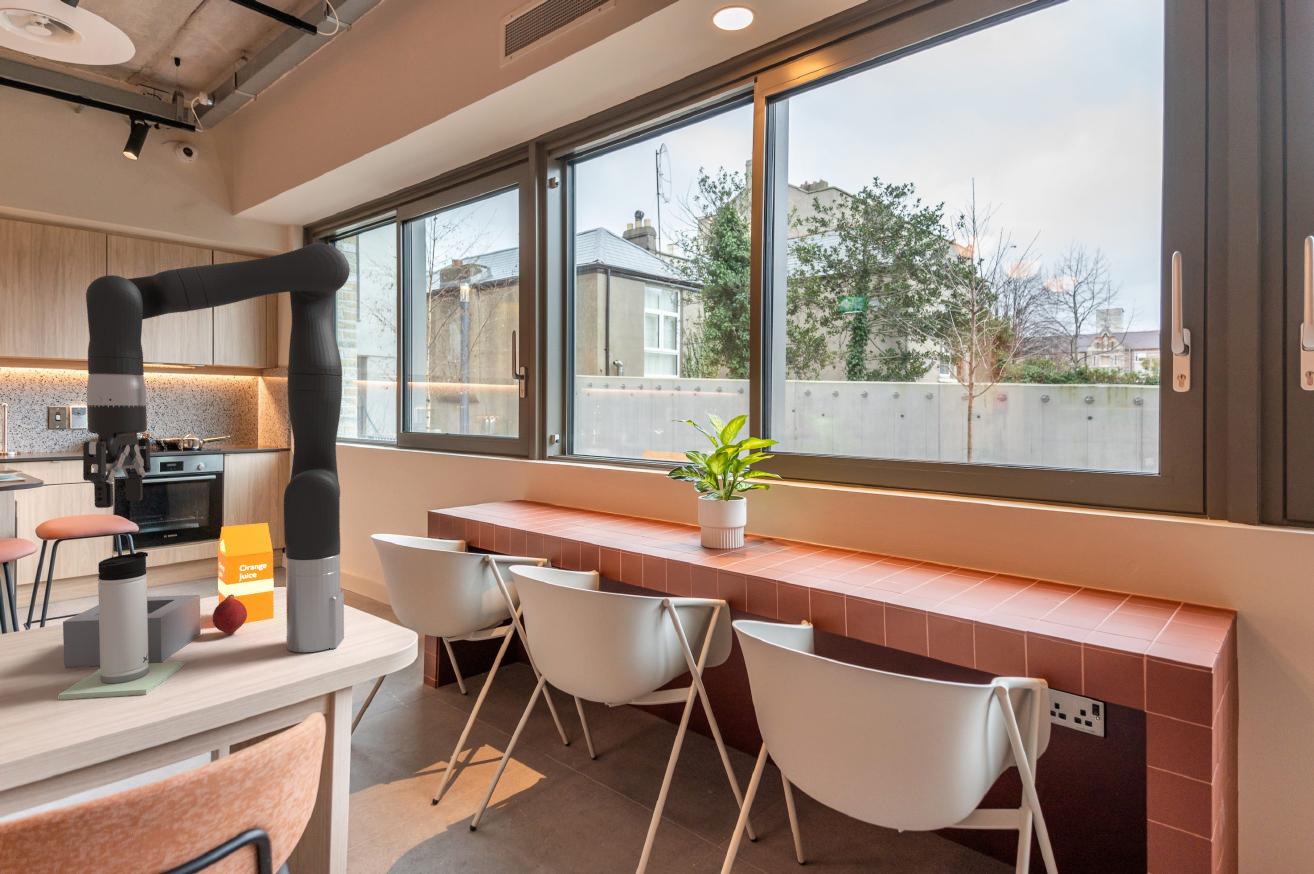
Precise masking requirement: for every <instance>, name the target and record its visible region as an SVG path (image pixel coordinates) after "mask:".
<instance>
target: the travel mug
mask: <svg viewBox="0 0 1314 874" xmlns="http://www.w3.org/2000/svg"><path fill="white" fill-rule="evenodd" d="M148 556H149V553H148V552H145V551H136V552H135V553H127V554H121V555H120V554H119V555H116V556H111V557H109V558H106V559H103V560H101V561H100V562H98V565H97V567H98V568H97V569H98V578H97V582H98V584H97V585H98V587H97V588H98V590H97V591H98V592H97V593H98V605H99V637H100V666H99V669H100V670H101V672H100V680H101V681H102V682H104V683H108V684H116V683H124V682H129V681H133V680H136V679H139V678H141V677H143V676H145V675H146V674H147V673H148V672H149V669H148V664H149V663H148V618H147V597H148V585H147V584H148V578H147V576H148V575H147V562H146V561H147V557H148Z"/></svg>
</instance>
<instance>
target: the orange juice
mask: <svg viewBox="0 0 1314 874" xmlns="http://www.w3.org/2000/svg"><path fill="white" fill-rule="evenodd" d="M217 567H218V569H217V571H218V572H217V574H218V576H217V583H218V584H217V587H218V589H217V590H218V605H219V604H220V603H221V602H222V601H224V600H225V599H226V597H227V596H228V595H229V594H233V595H234V599H236V600H238V601H240V602H241V603H242V604H243V605H244V606H245V608H246V610H247V619H246V621H245V623H244V624H249V623H254V622H259V621H264V620H269V619H268V618H271V619H274V618H275V616H274V615H275V614H274V613H275V612H274V603H275V602H274V591H275V590H274V580H275V578H274V551H273V545H272V539H271V535H270V529H269V523H268V522H264V523H250V524H242V525H241V524H240V525H230V526H229V525H227V526H221V531H220V536H219V543H218V550H217Z"/></svg>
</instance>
